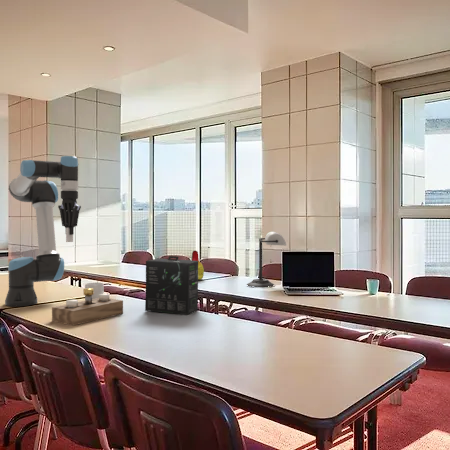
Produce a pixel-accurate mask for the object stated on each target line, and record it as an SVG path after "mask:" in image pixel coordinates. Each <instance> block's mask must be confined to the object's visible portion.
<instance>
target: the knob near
mask: <svg viewBox="0 0 450 450" xmlns="http://www.w3.org/2000/svg"><path fill="white" fill-rule="evenodd" d="M78 302H79V300H78V299H67V300H66V301H65V304H66V307H68V308H70V309H72V308H76V307H77V306H78Z"/></svg>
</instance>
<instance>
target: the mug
mask: <svg viewBox="0 0 450 450" xmlns="http://www.w3.org/2000/svg"><path fill="white" fill-rule="evenodd" d="M85 288H93V289H94V294H93V295H92V299H96V298H99V294H105V293H104V290H105V289H104V288H105V287H104V283H103V282H88V283H84V289H85Z"/></svg>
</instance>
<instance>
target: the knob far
mask: <svg viewBox="0 0 450 450" xmlns="http://www.w3.org/2000/svg"><path fill="white" fill-rule="evenodd" d="M110 299H111V298H110V294H109V293H104V294H99V300H100V301H101V302H106V301H108V300H110Z"/></svg>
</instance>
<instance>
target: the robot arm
mask: <svg viewBox="0 0 450 450" xmlns="http://www.w3.org/2000/svg"><path fill="white" fill-rule="evenodd" d="M19 170H20V173H19V175H18V176H17V177H16V178H14V179H12V180H11V181H10V182H9V185H8V192H9V194H10V195H11V196H12V198H14V199H15V200H17V201H19V202H21V203H22V202H23V203H31V207H33V208H34V209H35V217H36V232H37V244H38V245H37V247H38V254H37V255H36V256H35V258H34V257H33V256H22V257H17V258H14V259H13V258H12V259H11V260H10V261H8V268H7V272H8V291H7V293H6V297H5V301H4V303H5V304H4V305H5V306H6V305H7V306H6V307H26V306H28V307H29V306H32V305H36V304H38V297H37V293H36V291H35V288H34V283H38V282H39V283H40V282H41V283H42V282H49V281H50V282H53V281H59V280H61V279H62V278H63V275H64V271H65V260H64V258H63V257H61V256H60V253H59V252H58V251H57V246H56V243H57V242H56V234H55V223H54V222H55V220H54V207H55V206H56V203H57V202H58V200H59V191H58V187H57V186H58V185H57V184H56V183H55V182H54V181H52V180H51V181H50V180H38V179H39V178H52V179H60V190H61V191H60V199H62V201H61V204H60V205H58V207H57V208H58V210H59V213H60V214H59V215H60V220H61V225H62V227H64V228H65V242H66V243H73V242H74V233H75V232H74V228H75V227H78V221H79V215H80V211H81V209H82V206H81V205H78V202H77V200H78V198H79V192H78V190H79V160H78V157H77V156H71V155H63V156H61V157H60V161H51V160H33V159H25V160H24V159H23V160H22V161H21V162H20V168H19Z"/></svg>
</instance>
